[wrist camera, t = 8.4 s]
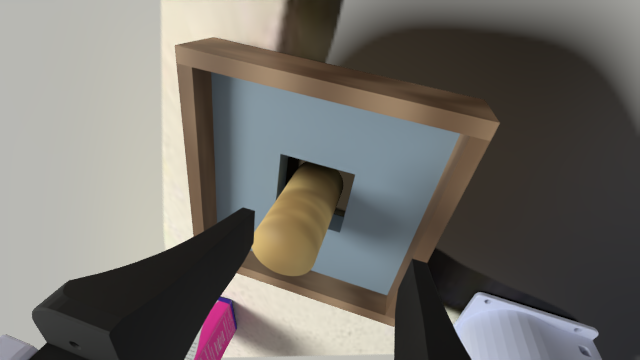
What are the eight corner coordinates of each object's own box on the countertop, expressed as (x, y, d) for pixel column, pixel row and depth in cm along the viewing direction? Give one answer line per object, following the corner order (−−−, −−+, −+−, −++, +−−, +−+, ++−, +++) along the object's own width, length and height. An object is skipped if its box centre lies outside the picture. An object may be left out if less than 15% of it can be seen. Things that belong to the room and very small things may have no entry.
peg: (348, 168, 23) (320, 237, 16) (337, 208, 25) (309, 284, 19) (298, 153, 24) (252, 216, 17) (292, 194, 26) (250, 263, 19)
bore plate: (461, 111, 19) (465, 122, 17) (388, 277, 28) (387, 295, 26) (226, 55, 21) (210, 61, 19) (228, 226, 30) (217, 239, 28)
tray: (484, 99, 18) (500, 123, 15) (396, 287, 28) (393, 326, 25) (213, 37, 21) (174, 45, 17) (219, 230, 31) (195, 259, 27)
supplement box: (199, 317, 41) (133, 415, 31) (190, 287, 37) (114, 386, 28) (238, 328, 39) (182, 434, 30) (233, 299, 36) (168, 406, 27)
